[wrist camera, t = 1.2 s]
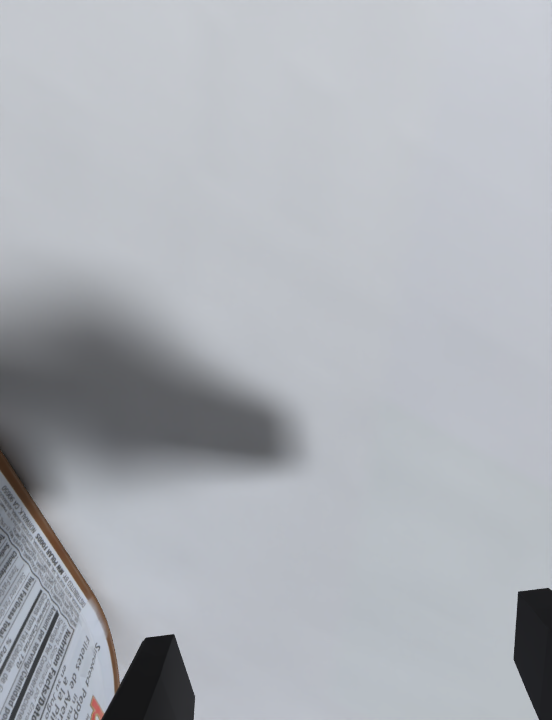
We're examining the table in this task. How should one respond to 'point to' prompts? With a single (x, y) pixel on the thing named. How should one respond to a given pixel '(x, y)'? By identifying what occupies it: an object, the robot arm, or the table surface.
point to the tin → (47, 621)
